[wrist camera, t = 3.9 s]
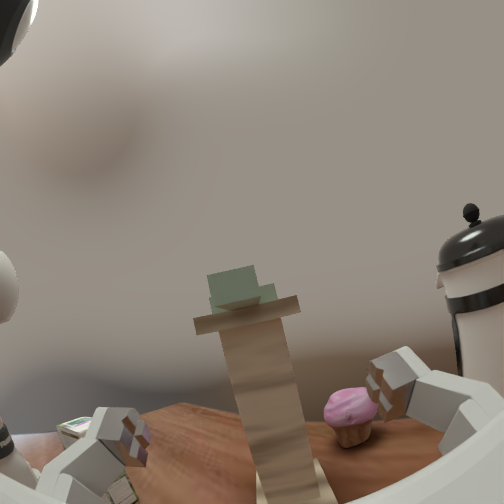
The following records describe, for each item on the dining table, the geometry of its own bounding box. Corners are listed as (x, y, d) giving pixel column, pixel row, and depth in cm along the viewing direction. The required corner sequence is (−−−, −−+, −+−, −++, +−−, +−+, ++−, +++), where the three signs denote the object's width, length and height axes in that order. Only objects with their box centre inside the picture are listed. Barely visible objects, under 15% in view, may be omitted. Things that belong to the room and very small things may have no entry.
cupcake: (328, 435, 38) (319, 388, 41) (375, 422, 37) (368, 375, 39) (330, 459, 30) (320, 407, 32) (386, 444, 28) (380, 390, 31)
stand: (340, 513, 17) (296, 295, 23) (259, 531, 16) (193, 318, 22) (318, 464, 29) (281, 302, 35) (258, 478, 29) (215, 317, 35)
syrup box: (113, 491, 24) (80, 415, 28) (141, 499, 23) (106, 419, 27) (92, 505, 19) (53, 424, 22) (120, 516, 18) (77, 431, 21)
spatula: (295, 287, 13) (288, 256, 14) (179, 313, 13) (173, 282, 13) (271, 304, 34) (268, 292, 34) (225, 315, 34) (222, 303, 34)
